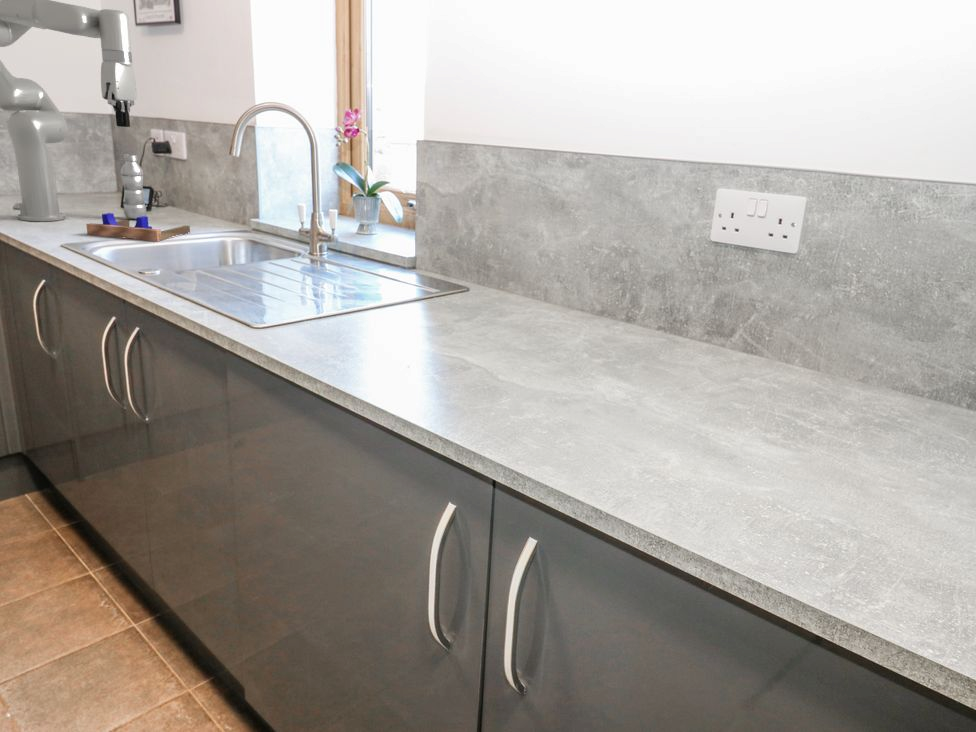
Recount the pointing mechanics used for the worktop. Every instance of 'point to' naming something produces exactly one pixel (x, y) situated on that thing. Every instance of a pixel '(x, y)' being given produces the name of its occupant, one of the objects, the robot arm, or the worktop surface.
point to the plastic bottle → (133, 187)
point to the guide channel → (134, 231)
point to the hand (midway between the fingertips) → (123, 126)
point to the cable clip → (110, 220)
